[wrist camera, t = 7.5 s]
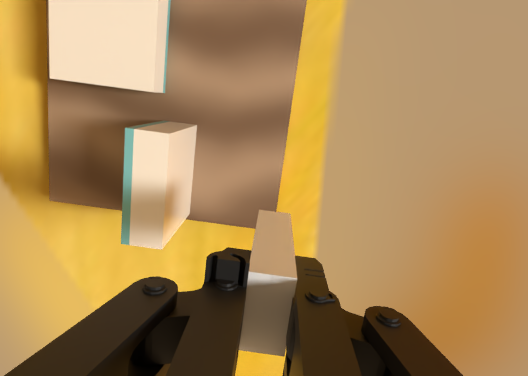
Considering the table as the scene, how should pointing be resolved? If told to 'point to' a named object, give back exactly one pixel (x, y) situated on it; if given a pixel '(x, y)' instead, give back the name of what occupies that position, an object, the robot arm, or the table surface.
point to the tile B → (156, 181)
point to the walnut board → (191, 111)
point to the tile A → (110, 42)
